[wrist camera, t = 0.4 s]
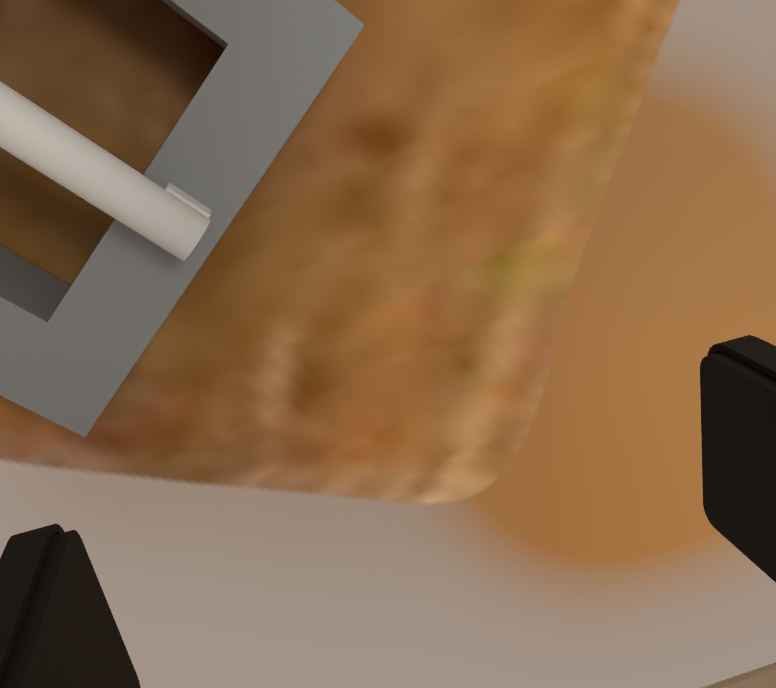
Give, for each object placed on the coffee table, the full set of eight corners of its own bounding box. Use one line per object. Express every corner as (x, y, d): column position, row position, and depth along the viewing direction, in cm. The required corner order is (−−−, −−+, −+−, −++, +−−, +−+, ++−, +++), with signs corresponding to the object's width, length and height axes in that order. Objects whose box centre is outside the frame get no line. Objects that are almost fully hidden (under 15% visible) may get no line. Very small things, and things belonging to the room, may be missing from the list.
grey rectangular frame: (-20, -266, 29) (-119, -413, 21) (341, 33, 36) (382, 18, 27) (-272, 190, 32) (-450, 229, 24) (103, 387, 39) (71, 475, 30)
